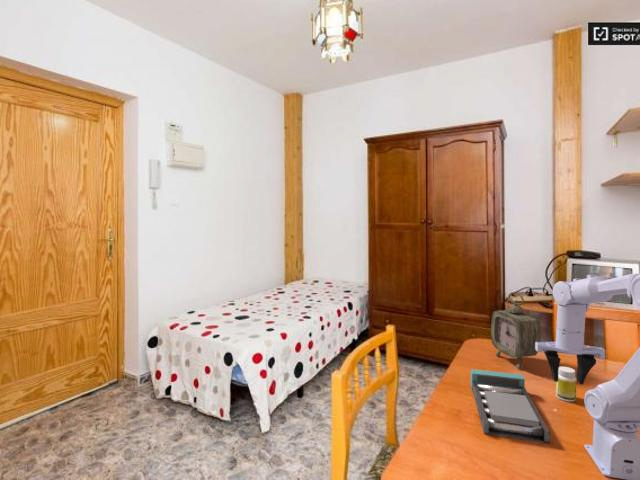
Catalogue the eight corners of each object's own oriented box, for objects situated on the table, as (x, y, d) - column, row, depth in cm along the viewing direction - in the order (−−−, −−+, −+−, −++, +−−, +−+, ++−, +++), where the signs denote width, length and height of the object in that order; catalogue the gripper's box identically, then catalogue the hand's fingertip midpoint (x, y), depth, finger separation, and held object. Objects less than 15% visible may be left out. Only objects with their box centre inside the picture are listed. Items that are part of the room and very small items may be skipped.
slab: (538, 427, 82) (539, 421, 82) (492, 420, 85) (492, 414, 85) (525, 400, 94) (525, 395, 93) (484, 395, 96) (484, 390, 96)
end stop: (524, 396, 101) (525, 379, 101) (472, 390, 105) (472, 374, 105) (521, 390, 105) (522, 374, 104) (470, 384, 109) (471, 369, 108)
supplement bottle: (579, 402, 98) (580, 373, 97) (560, 401, 99) (561, 372, 98) (570, 394, 102) (571, 366, 102) (552, 392, 103) (553, 365, 103)
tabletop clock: (490, 354, 131) (491, 288, 129) (511, 352, 133) (513, 287, 131) (518, 371, 117) (521, 298, 115) (542, 369, 119) (544, 296, 117)
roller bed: (549, 443, 81) (549, 432, 81) (483, 433, 85) (484, 422, 85) (523, 395, 102) (524, 386, 102) (472, 389, 106) (472, 380, 106)
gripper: (597, 326, 89) (593, 377, 91) (532, 321, 93) (530, 370, 95) (611, 336, 83) (607, 391, 84) (540, 330, 87) (538, 383, 88)
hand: (567, 381), depth 89 cm, fingers open, 5 cm apart
